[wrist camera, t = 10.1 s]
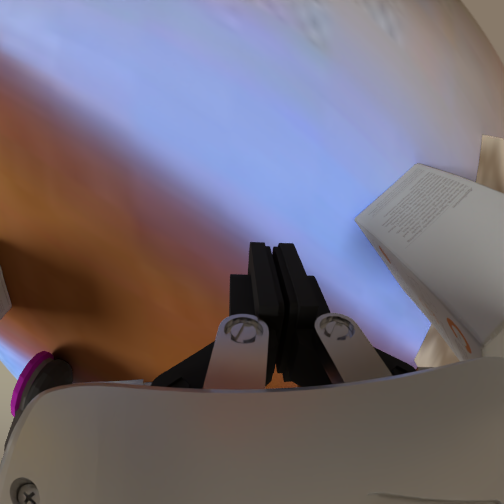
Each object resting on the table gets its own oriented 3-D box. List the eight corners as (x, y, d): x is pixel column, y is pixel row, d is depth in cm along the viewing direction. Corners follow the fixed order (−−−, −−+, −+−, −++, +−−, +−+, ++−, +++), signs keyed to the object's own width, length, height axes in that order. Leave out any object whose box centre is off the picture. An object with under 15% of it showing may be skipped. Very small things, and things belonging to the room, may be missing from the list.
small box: (456, 240, 19) (567, 333, 7) (401, 290, 21) (492, 414, 9) (416, 158, 17) (579, 226, 5) (350, 216, 18) (479, 353, 6)
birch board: (482, 134, 16) (537, 147, 10) (502, 144, 16) (554, 159, 10) (414, 360, 25) (438, 402, 19) (435, 356, 25) (460, 395, 19)
